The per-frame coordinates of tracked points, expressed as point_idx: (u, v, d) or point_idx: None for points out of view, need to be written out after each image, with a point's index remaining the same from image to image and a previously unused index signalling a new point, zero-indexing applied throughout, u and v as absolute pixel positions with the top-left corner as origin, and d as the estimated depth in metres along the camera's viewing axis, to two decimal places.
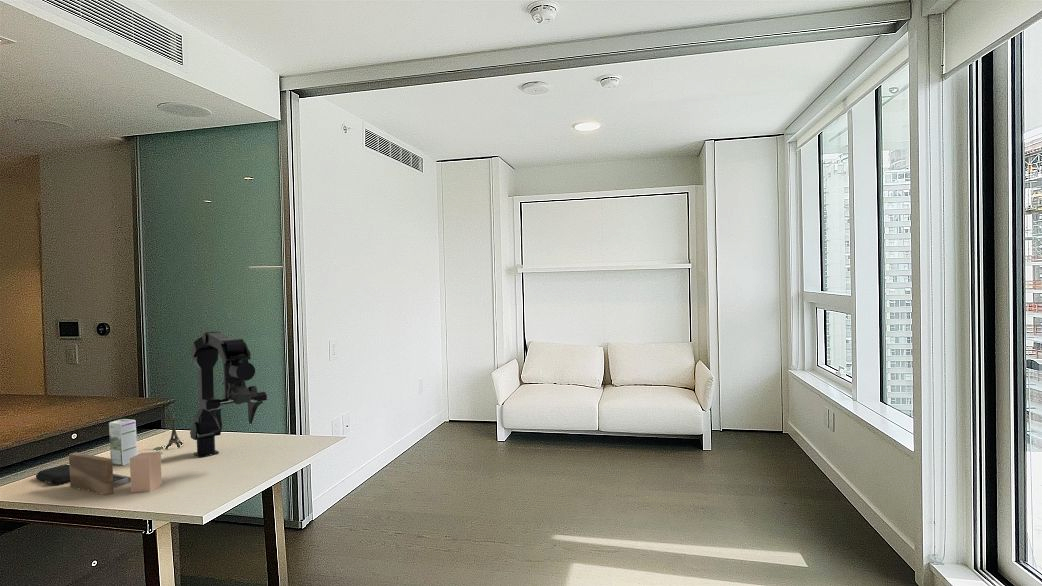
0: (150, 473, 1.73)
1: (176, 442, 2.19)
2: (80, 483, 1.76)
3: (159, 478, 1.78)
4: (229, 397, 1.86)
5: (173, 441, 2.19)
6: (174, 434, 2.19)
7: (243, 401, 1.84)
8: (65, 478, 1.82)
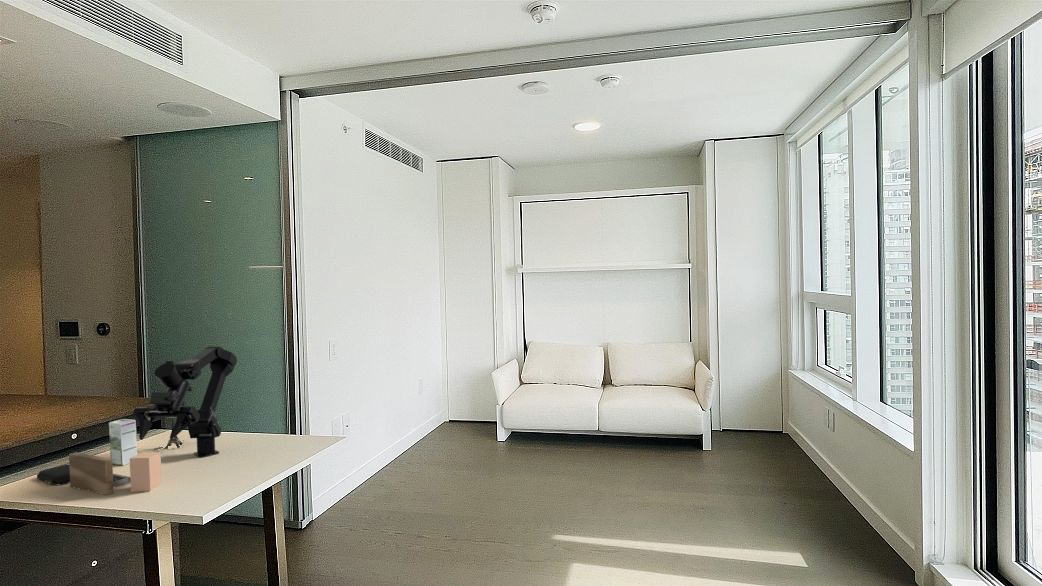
0: (150, 473, 1.73)
1: (176, 442, 2.19)
2: (80, 483, 1.76)
3: (159, 478, 1.78)
4: (155, 405, 1.86)
5: (173, 441, 2.19)
6: None
7: (155, 400, 1.82)
8: (65, 478, 1.82)
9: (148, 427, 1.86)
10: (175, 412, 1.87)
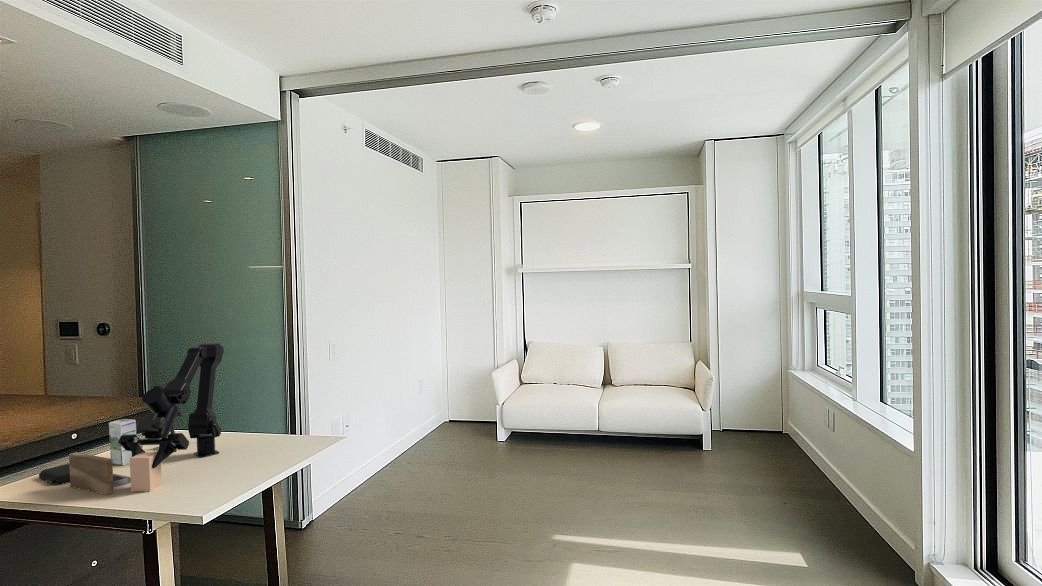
0: (150, 473, 1.73)
1: None
2: (80, 483, 1.76)
3: (159, 478, 1.78)
4: (143, 432, 1.79)
5: None
6: None
7: (142, 427, 1.75)
8: (65, 478, 1.82)
9: None
10: (163, 439, 1.80)
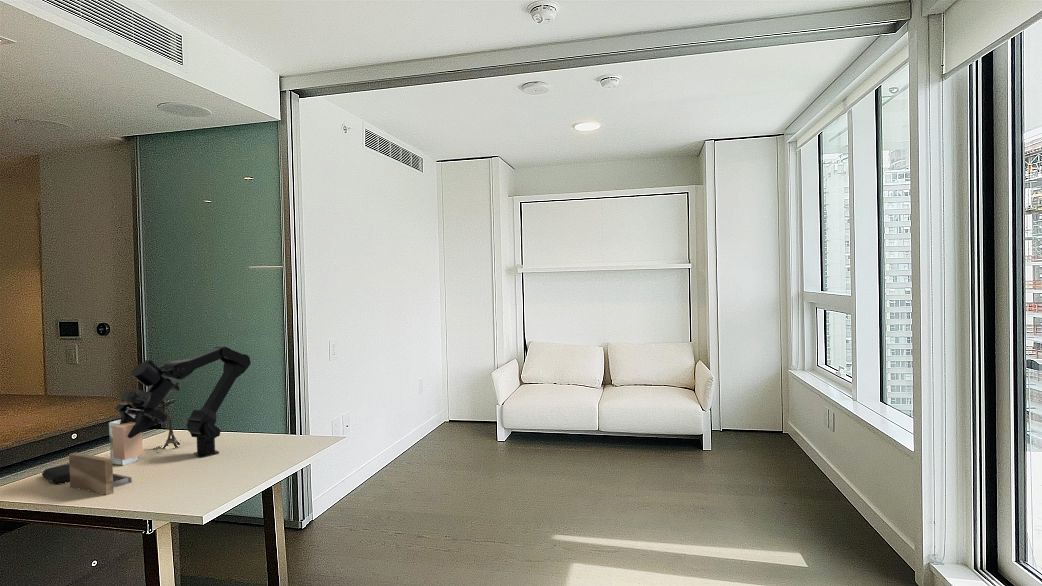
0: (124, 442, 1.82)
1: (173, 442, 2.19)
2: (80, 483, 1.76)
3: (139, 448, 1.86)
4: None
5: (170, 441, 2.19)
6: (171, 434, 2.19)
7: (123, 398, 1.84)
8: (66, 477, 1.82)
9: None
10: None
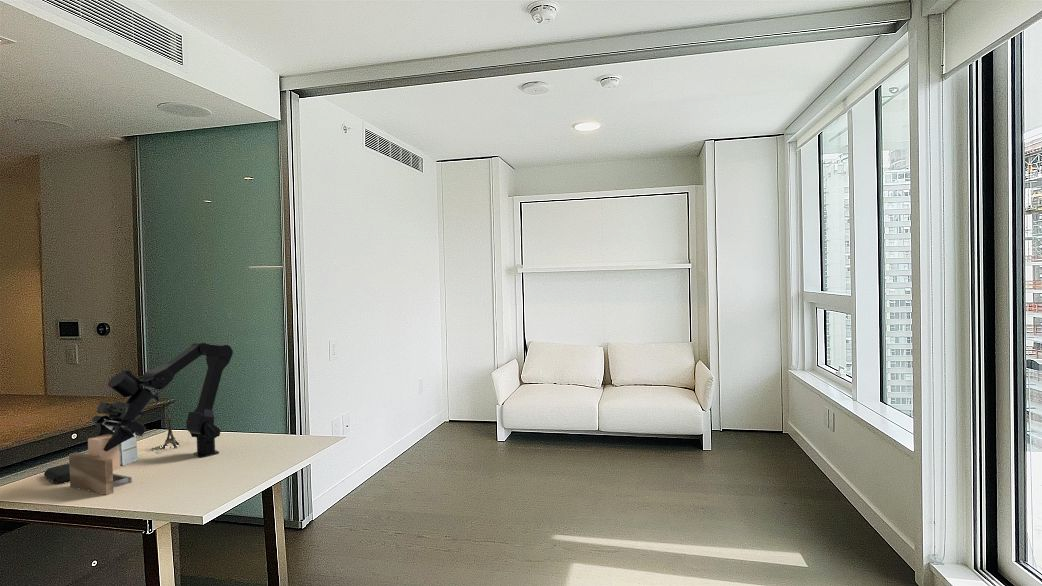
0: (100, 455, 1.75)
1: (172, 442, 2.19)
2: (80, 483, 1.76)
3: (116, 462, 1.79)
4: (109, 414, 1.83)
5: (169, 441, 2.19)
6: (170, 434, 2.19)
7: (99, 410, 1.78)
8: (66, 477, 1.83)
9: None
10: None
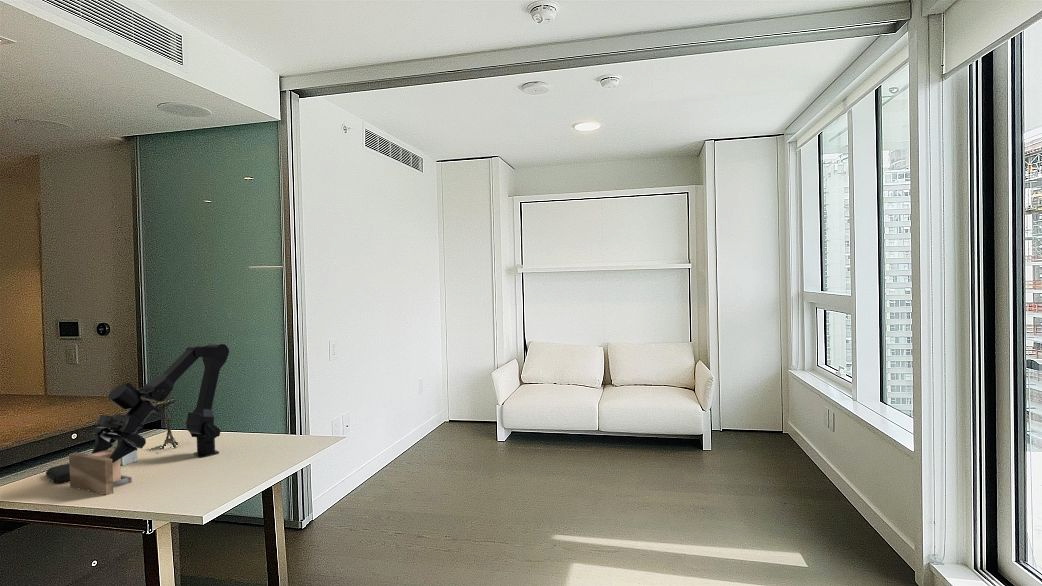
0: None
1: (172, 442, 2.19)
2: (80, 483, 1.76)
3: (116, 477, 1.80)
4: None
5: (169, 441, 2.19)
6: (169, 434, 2.19)
7: (100, 422, 1.78)
8: (66, 477, 1.83)
9: (106, 448, 1.84)
10: None
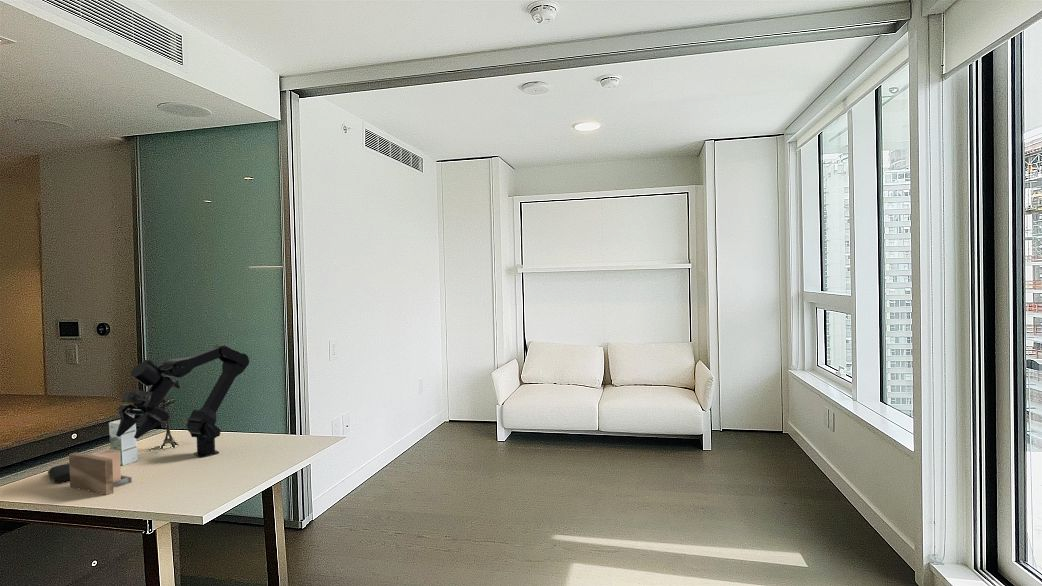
0: None
1: (171, 442, 2.19)
2: (80, 483, 1.76)
3: (116, 477, 1.80)
4: (133, 403, 1.89)
5: (168, 441, 2.19)
6: (168, 434, 2.19)
7: (124, 399, 1.84)
8: (67, 476, 1.83)
9: (131, 424, 1.91)
10: None
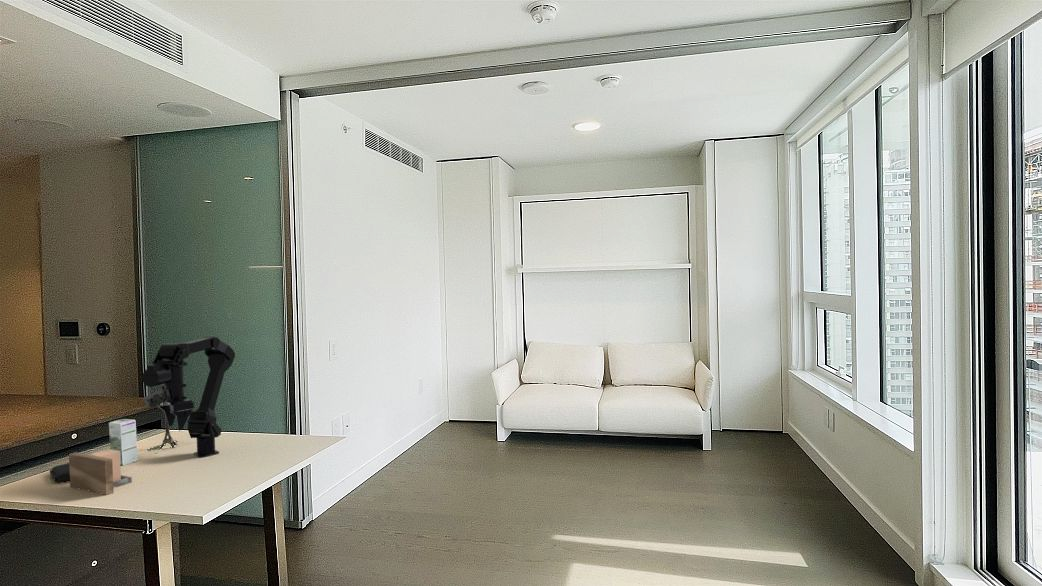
0: None
1: (170, 442, 2.19)
2: (80, 483, 1.76)
3: (116, 477, 1.80)
4: None
5: (167, 441, 2.19)
6: (168, 434, 2.19)
7: (147, 405, 1.90)
8: (67, 476, 1.83)
9: None
10: None
